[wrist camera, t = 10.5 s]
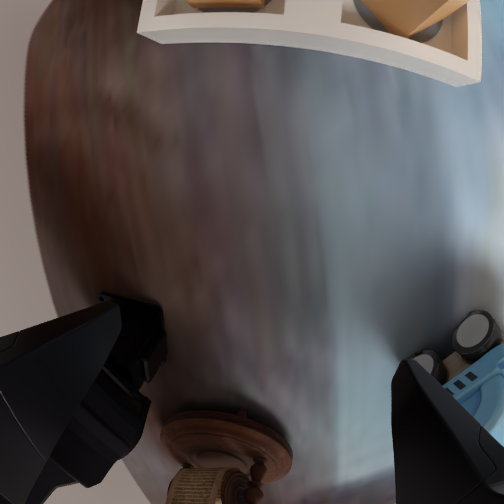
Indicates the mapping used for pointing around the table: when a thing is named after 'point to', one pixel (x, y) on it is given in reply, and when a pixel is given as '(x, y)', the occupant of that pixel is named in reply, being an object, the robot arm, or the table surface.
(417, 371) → the robot arm
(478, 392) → the toy excavator
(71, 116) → the table surface
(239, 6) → the grey and tan piece
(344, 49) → the housing
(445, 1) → the knob-topped wooden post
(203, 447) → the scroll
